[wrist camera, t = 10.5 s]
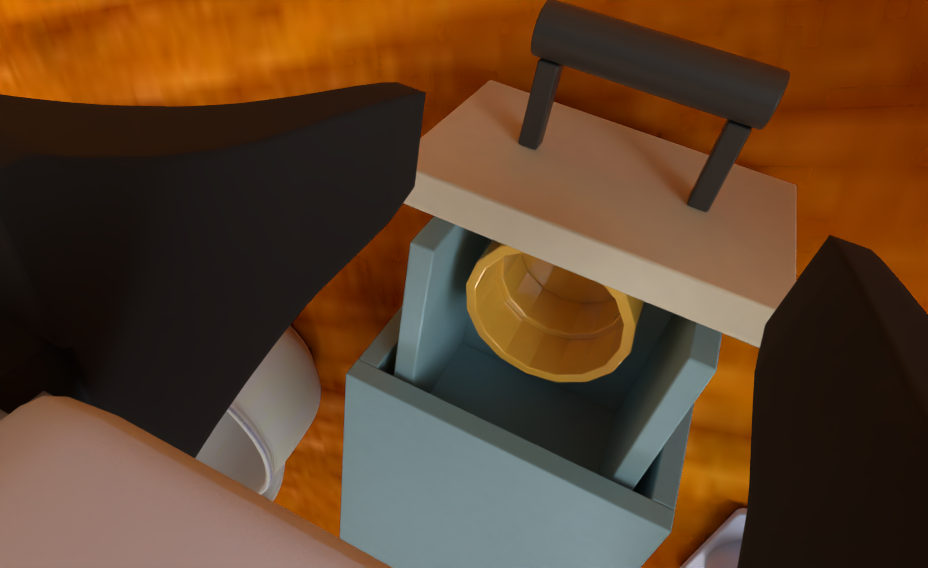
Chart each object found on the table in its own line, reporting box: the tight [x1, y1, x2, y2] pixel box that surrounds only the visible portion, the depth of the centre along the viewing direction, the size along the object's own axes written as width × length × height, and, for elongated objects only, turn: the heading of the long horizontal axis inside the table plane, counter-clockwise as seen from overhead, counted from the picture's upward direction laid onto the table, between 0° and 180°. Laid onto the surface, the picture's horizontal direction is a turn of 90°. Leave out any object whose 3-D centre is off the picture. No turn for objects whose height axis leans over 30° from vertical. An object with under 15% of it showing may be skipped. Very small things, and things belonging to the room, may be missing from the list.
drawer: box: [394, 0, 797, 490], centre depth 19 cm, size 16×10×7 cm, turn 170°
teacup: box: [195, 326, 321, 501], centre depth 36 cm, size 14×11×8 cm
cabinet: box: [340, 305, 694, 568], centre depth 27 cm, size 14×12×9 cm
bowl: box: [466, 240, 647, 382], centre depth 20 cm, size 5×5×4 cm
